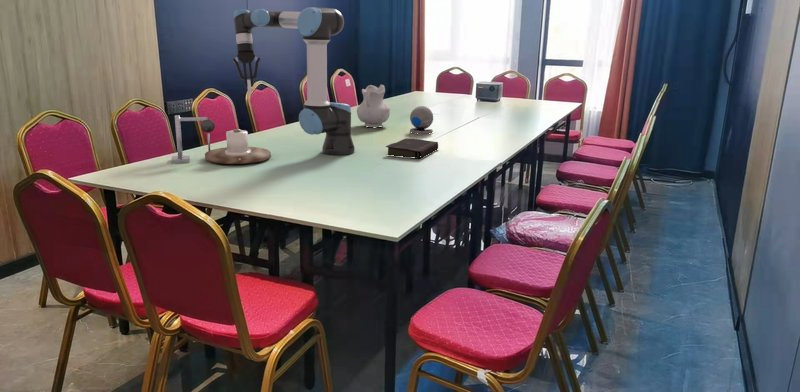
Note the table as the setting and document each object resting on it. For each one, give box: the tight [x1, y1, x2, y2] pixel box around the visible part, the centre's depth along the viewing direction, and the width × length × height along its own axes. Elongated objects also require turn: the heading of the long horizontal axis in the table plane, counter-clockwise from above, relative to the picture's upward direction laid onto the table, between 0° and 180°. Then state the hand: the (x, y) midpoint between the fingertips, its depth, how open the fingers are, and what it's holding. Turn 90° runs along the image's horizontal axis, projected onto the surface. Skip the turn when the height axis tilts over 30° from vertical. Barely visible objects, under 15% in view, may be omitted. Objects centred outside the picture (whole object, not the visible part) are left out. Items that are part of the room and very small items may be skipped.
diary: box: [385, 137, 439, 160], centre depth 284 cm, size 19×25×5 cm
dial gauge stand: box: [171, 114, 216, 164], centre depth 255 cm, size 18×7×20 cm, turn 107°
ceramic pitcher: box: [356, 84, 391, 127], centre depth 348 cm, size 22×20×25 cm
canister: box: [225, 128, 251, 157], centre depth 259 cm, size 11×11×11 cm
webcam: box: [409, 105, 434, 135], centre depth 335 cm, size 13×13×15 cm
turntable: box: [204, 146, 272, 165], centre depth 262 cm, size 28×28×2 cm
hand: (249, 93), depth 286 cm, fingers closed
